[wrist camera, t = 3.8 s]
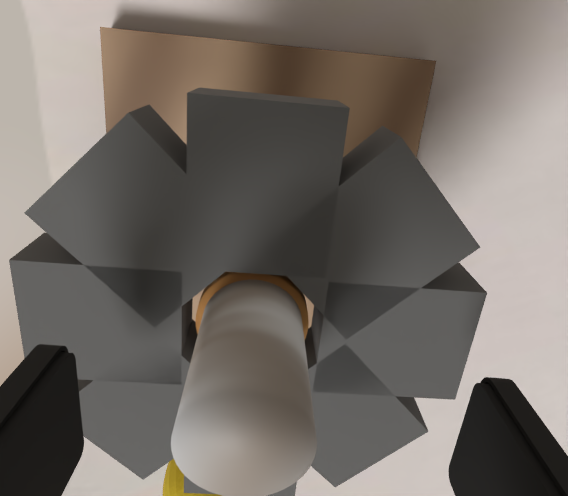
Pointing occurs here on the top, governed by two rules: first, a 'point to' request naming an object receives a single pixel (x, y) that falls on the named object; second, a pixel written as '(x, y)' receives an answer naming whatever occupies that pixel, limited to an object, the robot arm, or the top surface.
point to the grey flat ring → (251, 270)
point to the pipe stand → (247, 286)
